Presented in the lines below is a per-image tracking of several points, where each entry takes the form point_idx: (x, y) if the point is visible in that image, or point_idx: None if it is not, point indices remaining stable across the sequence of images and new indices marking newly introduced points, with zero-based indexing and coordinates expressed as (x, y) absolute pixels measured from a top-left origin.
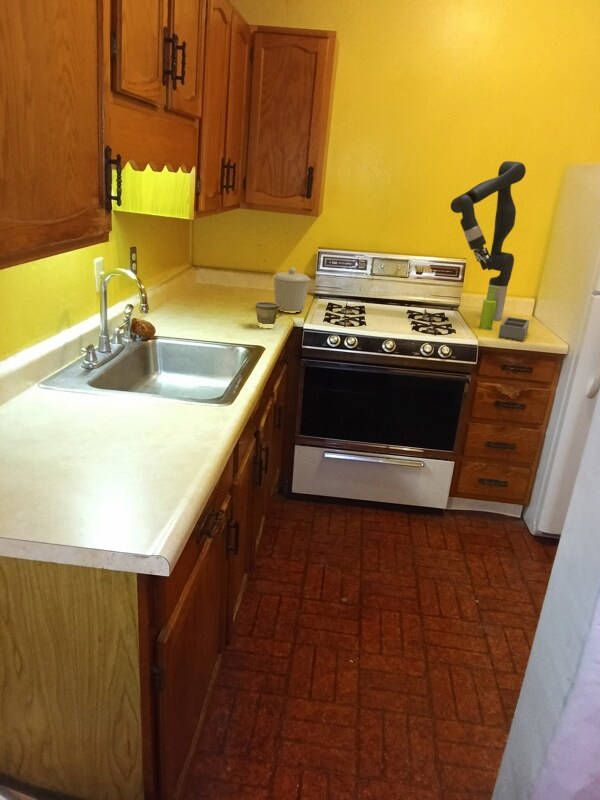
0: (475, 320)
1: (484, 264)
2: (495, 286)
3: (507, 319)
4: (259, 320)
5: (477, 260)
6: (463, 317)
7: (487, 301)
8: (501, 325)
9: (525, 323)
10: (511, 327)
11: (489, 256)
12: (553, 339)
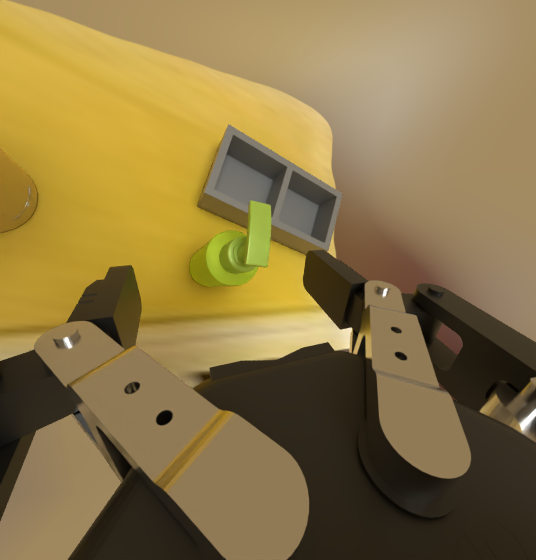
0: (82, 281)
1: (125, 307)
2: (259, 232)
3: (235, 201)
4: None
5: (12, 443)
6: (32, 326)
7: (253, 273)
8: (327, 248)
9: (284, 164)
10: (333, 225)
11: (471, 314)
12: (270, 105)
